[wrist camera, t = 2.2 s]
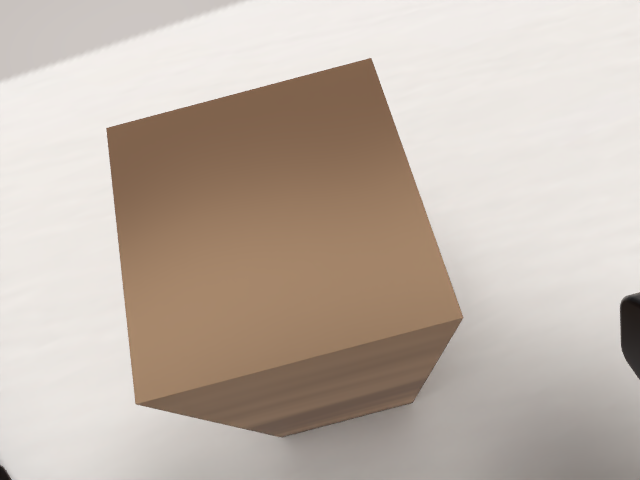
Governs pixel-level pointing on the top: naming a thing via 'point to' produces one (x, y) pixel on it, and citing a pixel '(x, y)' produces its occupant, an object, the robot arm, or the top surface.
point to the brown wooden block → (278, 256)
